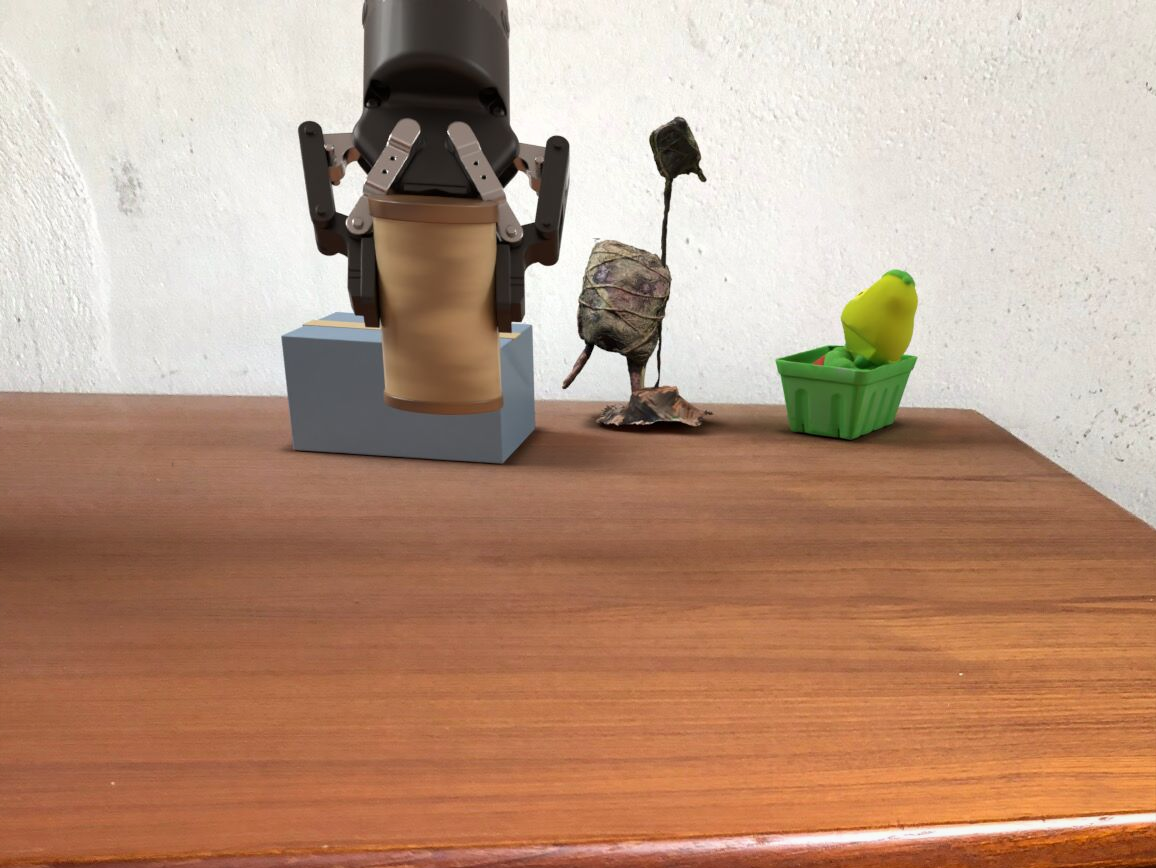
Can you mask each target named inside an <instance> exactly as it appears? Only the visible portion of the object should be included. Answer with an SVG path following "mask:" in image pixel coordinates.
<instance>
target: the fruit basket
mask: <svg viewBox="0 0 1156 868" xmlns="http://www.w3.org/2000/svg"><path fill="white" fill-rule="evenodd" d="M918 305H919V296H918V293H917V290H916V281H915V280H914V278H913V277H912V275H911V274H910V273H908V272H907V271H905V270H901V269H898V268H894V269H891V270H888V271H886V272H885V273H884V274H883V275H882V276H881V278H879V279H878V280H877V281H875V282H874V283H873V284H871V285H870V286H869V287H868V288H865V289H864V290H862V291H860V292H858V293H857V294H856V295H855V296H854V298H853V299H851V300H849V301H848V302H847V303H846V304H845V306H844V307H843V309H842V312H841V315H840V321H841V326H842V329H843V334H844V341H845V343H844V345H835V344H828V345H827V344H826V345H823V346H820V347H816V348H811V349H809V350H804V351H799V352H797V353H794V354H789V355H786V356H783V357H778V358H775V365H776V368H777V369H776V370H777V373H778V374H779V376H780V380H781V386H782V390H783V391H782V392H783V396H784V402H785V407H786V412H787V418H788V423H789V429H790V431H791V432H794V433H805V434H808V435H815V436H822V437H828V438H829V437H830V438H836V439H837V438H840V439H845V440H849V441H852V440H854V439H856V438H859V437H860V436H864V435H867V434H870V433H871V432H873V431H874V432H875V431H878V430H880V429H882V428H884V427H887V426H890V425H892V424H893V423H894V422H895V419H896V416H897V413H898V410H899V407H900V405H901V402H902V399H903V395H904V393H905V389H906V387H907V385H908V381H909V378H910V375H911V373H912V371H913V370H914V368H915V366H916V363H917V360H918V358H919V356H917V355H910V354H906V352H907V350H908V349H909V346H910V344H911V343H912V338H913V334H914V329H915V328H914V326H915V318H916V317H915V316H916V313H917V309H918Z"/></svg>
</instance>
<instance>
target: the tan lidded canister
mask: <svg viewBox="0 0 1156 868" xmlns="http://www.w3.org/2000/svg"><path fill="white" fill-rule="evenodd" d="M367 201H368V213H369V215H370V216H373V227H374V241H375V253H376V267H377V281H378V295H379V309H380V324H381V338H382V352H383V366H384V380H385V389H384V392H383V394H384V402H385V404H386V405H388V406H389V407H392V408H395V409H398V410H403V411H408V412H415V413H424V414H438V415H467V414H480V413H487V412H492V411H496V410H499V409H501V408H502V407H503V406H504V397H503V393H502V392H501V365H500V335H499V333H498V322H497V301H496V250H497V247H496V222H499V220H500V216H499V203H497V202H494V201H483V200H479V199H474V198H455V197H442V196H420V195H408V194H407V195H404V194H393V195H371V196H368V197H367Z"/></svg>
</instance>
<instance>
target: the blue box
mask: <svg viewBox="0 0 1156 868" xmlns="http://www.w3.org/2000/svg"><path fill="white" fill-rule="evenodd" d="M533 330H534V329H533V325H532V324H529V323H516V322H512V333H499V335H500V365H501V392H502V393H503V397H504V406H503V407H502V408H501V409H499V410H496V411H492V412H487V413H480V414H467V415H438V414H424V413H415V412H408V411H403V410H398V409H395V408H392V407H389V406H388V405H386V404H385V402H384V394H383V392H384V389H385V380H384V366H383V352H382V338H381V324H380V328H370V327H365V323H364V317H363V316H355V314H354V312H345V311H344V312H343V311H334V312H333V313H330V314H328V315H325V316H323V317H321V318H319V319H312V320H310V321H306V322H305V323H302V326H301V327H298V328H296V329H293V330H291V331H288V332H286V333H284V334H282V335H280V338H281V339H280V340H281V348H282V356H283V367H284V375H285V376H284V377H285V385H286V393H287V401H288V403H287V404H288V413H289V422H290V430H291V441H292V448H293V449H292V450H294V451H303V452H315V453H317V452H318V453H333V454H348V455H364V456H376V457H377V456H379V457H393V458H394V457H396V458H408V459H409V458H410V459H424V460H425V459H426V460H438V461H439V460H441V461H453V462H456V461H457V462H467V463H469V462H470V463H485V464H499V465H500V464H501V465H502V464H504V463H505V462H506V461H507V460H508V458H510V457H511V455H512V454H513V453H514V452H515V451H517V449H518V448H519V447H520V446H521V445H522V444H523V443H524V441H525V440H526V439H528V437H529V436H530V435H531V434H532V433H533V432H534V431H535V429H536V408H535V407H536V406H535V405H536V404H535V403H536V401H535V367H534V339H533V338H534V335H533V332H534V331H533Z"/></svg>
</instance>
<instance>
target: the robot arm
mask: <svg viewBox="0 0 1156 868" xmlns="http://www.w3.org/2000/svg"><path fill="white" fill-rule="evenodd" d="M508 7H509V6H508V0H364V2H363V4H362V13H361V26H362V29H363V66H362V67H363V69H362V70H363V72H362V73H363V75H362V76H363V77H362V112H361V115H360V117H359V119H358V120H357V122H356V123H355V124H354V127H353V128H352V132H337V133H324V132H323V128H322V126H321V125H320V124H319V123H318V122H316V121H314V120H306V121H303V122H301V123H300V124H299V125H298V127H297V134H298V142H299V149H300V156H301V157H300V158H301V163H302V169H303V177H304V184H305V191H306V197H307V199H306V200H307V205H308V211H309V212H308V213H309V217H310V221H311V223H312V225H313V226H312V227H313V231H314V239H315V243H316V248H317V250H318V252H319V253H320V254H322V255H324V256H326V257H333V256H336V255H338V254H340V255H342V256H344V257H346V259H347V280H346V282H347V283H346V284H347V287H346V288H347V294H348V298H349V302H350V307H351V309H352V313H354V314H355V316H363V317H364V323H365V327H370V328H380V309H379V295H378V281H377V267H376V253H375V241H374V227H373V216H370V215H369V213H368V201H367V197H368V196H371V195H393V194H404V195H407V194H408V195H420V196H442V197H455V198H474V199H479V200H483V201H494V202H497V203H499V216H500V220H499V222H496V247H497V250H496V301H497V322H498V333H512V323H522V322H523V320H524V318H525V316H526V281H525V280H526V277H525V275H526V271H527V269H528V268H529V267H530V266H532V265H534V264H537V263H538V264H540V265H542V266H544V267H552V266H554V265H556V264H557V263H558V262H559V260H560V253H561V245H562V239H563V231H564V225H565V218H566V212H567V211H566V210H567V204H568V196H569V190H570V189H569V188H570V182H571V181H570V179H571V178H570V175H571V173H570V169H571V168H570V165H571V164H570V159H571V158H570V151H571V149H570V146H571V145H570V142H569V141H568V139H567V138H566V137H564V136H563V135H556V134H555V135H552V136H550V137H548V139H547V140H546V142H545V146H541V145H537V144H529V143H524V142H520V141H519V138H518V135H517V134H516V133H515V131H514V130H513V128H512V126H511V93H510V92H511V91H510V90H511V88H510V86H511V85H510V84H511V82H510V80H511V79H510V37H511V36H510V35H511V27H510V19H509V18H510V17H509V16H510V15H509V8H508ZM354 162H356V163H357V164H358V166H359V168H361V169H362V171H363V173H365V174H366V175H367V176H366V177H365V179H364V182H363V185H362V193H361V195H360V197H359V199H358V200H357V202H356V203H355V205H354V207H353V208H352V209H351V211H350V213H349V214H348V215H346V214H344V213H340V212H338V211H337V209H336V202H335V194H334V189H333V188H334V187H337V186H340V185H341V183H342V182H341V181H342V179H344V177H345V176H346V173H347V172H346V171H347V167H348V166H349V165H350V164H351V163H354ZM519 172H521V173H523V174H525V176H527V178H528V184H529V188H531V190H532V191H534V192H535V195H536V196H537V204H536V210H535V215H534V217H535V219H534V221H533V222H529V223H525V224H522V225H521V223H520V221H519V220H518V218H517V217H516V215H515V213H514V211H513V209H512V208H511V206H510V203H509V202H508V200H507V195H506V192H505V190H504V189H505V188H506V187H507V186H508V185H509V184H510V183H511V181H512V180H513V179H514V178H516V176H517V174H518V173H519ZM333 186H334V187H333Z"/></svg>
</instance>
